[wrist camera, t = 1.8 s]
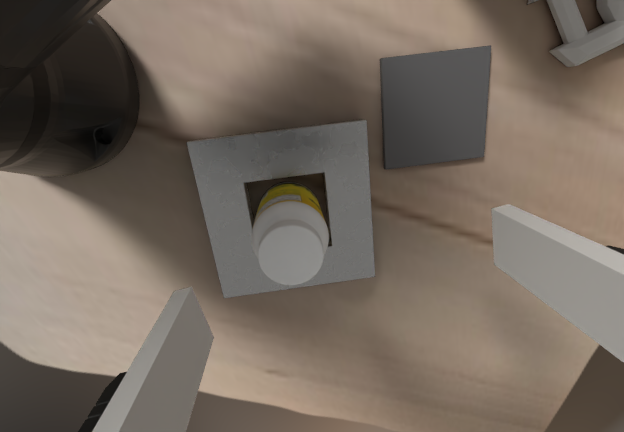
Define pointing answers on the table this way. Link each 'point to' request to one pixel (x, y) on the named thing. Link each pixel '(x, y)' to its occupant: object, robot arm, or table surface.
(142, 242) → the table surface
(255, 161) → the housing plate
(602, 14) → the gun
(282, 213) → the pill bottle
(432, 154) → the rubber mat
